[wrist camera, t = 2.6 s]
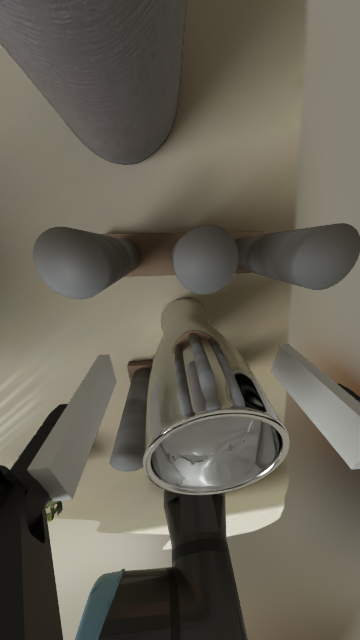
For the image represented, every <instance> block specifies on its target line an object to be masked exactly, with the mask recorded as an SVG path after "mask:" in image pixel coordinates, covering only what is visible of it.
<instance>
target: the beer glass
mask: <svg viewBox="0 0 360 640" xmlns="http://www.w3.org/2000/svg"><path fill="white" fill-rule="evenodd" d="M161 327H162V330H163V336H162V338H161V341H160V343H159V346H158V348H157V351H156V353H155V356H154V360H153V363H152V366H151V372H150V377H149V383H148V392H147V403H146V424H145V449H144V457H143V468H144V471H145V473H146V475H147V477H148V478H149V479H150V480H151V481H152V482H153V483H154V484H156V485H157V486H159V487H161V488H163V489H165V490H168V491H171V492H174V493H179V494H185V495H212V494H219V493H225V492H229V491H233V490H237V489H240V488H243V487H245V486H248V485H250V484H253V483H255V482H257V481H259V480H261V479H262V478H264V477H266V476H267V475H269V474H270V473H271V472H273V471H274V470H275V469H276V468H277V467H278V466H279V465H280V464H281V463H282V462H283V460H284V459H285V457H286V456H287V454H288V451H289V447H290V437H289V434H288V432H287V430H286V428H285V427H284V425H283V424H282V423H281V421H280V419H279V418H278V416H277V414H276V412H275V411H274V409H273V407H272V405H271V403H270V402H269V400H268V398H267V396H266V394H265V393H264V391H263V389H262V387H261V386H260V384H259V382H258V380H257V379H256V377H255V375H254V374H253V372H252V371H251V369H250V367H249V366H248V364H247V363H246V361H245V360H244V359H243V357H242V356H241V355H240V353H239V352H238V351H237V349H236V348H235V347H234V346H233V345H232V344H231V343H230V342H229V341H228V340H227V339H226V337H224V336H223V335H222V334H221V333H220V332H219V331H218V330H217V329H215V328H214V327H213V326H212V325H211V324H210V323H209V322H208V316H207V313H206V310H205V309H204V307H203V306H202V305H201V304H200V303H198V302H197V301H194V300H192V299H179V300H176V301H173V302H172V303H170V304H169V305H168V306H167V307H166V308H165V309H164V311H163V313H162V316H161Z"/></svg>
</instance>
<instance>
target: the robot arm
mask: <svg viewBox="0 0 360 640" xmlns="http://www.w3.org/2000/svg"><path fill="white" fill-rule="evenodd" d="M271 372H272V373H273V374H274V376H275V377H276V378H277V379H278V380H279V382H280V383H281V384H282V385H283V387H284V388H285V389H286V390H287V391H288V393H289V394H290V395H291V396H292V397H293V399H294V400H295V401H296V402H297V403H298V405H299V406H300V407H301V408H302V410H303V411H304V412H305V413H306V414H307V416H308V417H309V418H310V419H311V421H312V422H313V423H314V424H315V425H316V426H317V428H318V429H319V430H320V431H321V433H322V434H323V435H324V436H325V438H326V439H327V440H328V441H329V442H330V444H331V445H332V446H333V447H334V448H335V450H336V451H337V452H338V453H339V455H340V456H341V457H342V458H343V459H344V461H345V462H346V463H347V464H348V465H349V467H350V468H351V469H360V397H359V396H358V395H356V394H355V393H354V392H353V391H351V390H350V389H348V388H346V387H344V386H343V385H341V384H336V383H335V382H334V381H333V380H331V379H330V378H329V377H328V376H327V375H325V374H324V373H323V372H322V371H321V370H319V369H318V368H317V367H316V366H314V365H313V364H312V363H311V362H309V361H308V360H307V359H306V358H305V357H303V356H302V355H301V354H300V353H298V352H297V351H296V350H295V349H294V348H292V347H291V346H290V345H289V344H284V345H279V347H278V350H277V353H276V357H275V360H274V363H273V367H272V370H271ZM115 384H116V378H115V374H114V371H113V367H112V363H111V359H110V355H99V356H98V357H97V359H96V360H95V362H94V364H93V365H92V367H91V368H90V370H89V372H88V373H87V375H86V376H85V378H84V380H83V381H82V383H81V384H80V386H79V388H78V389H77V391H76V392H75V394H74V396H73V397H72V399H71V400H70V402H69V403H68V404H61V405H59V406H58V407H56V408H55V409H54V410H53V411H52V412H51V413H50V414H49V415H48V417H47V418H46V420H45V421H44V422H43V424H42V426H41V427H40V428H39V430H38V431H37V432H36V435H34V437H33V438H32V440H31V441H30V442H29V444H28V445H27V447H26V448H25V450H24V451H23V452H22V454H21V455H20V457H19V458H18V460H17V461H16V462H15V464H14V465H13V467H12V468H11V470H9V469H8V468H7V467H5V466H2V465H1V466H0V640H63V635H62V628H61V620H60V614H59V606H58V598H57V591H56V583H55V576H54V568H53V561H52V553H51V546H50V539H49V531H48V524H47V516H46V510H45V508H44V506H45V504H46V502H47V500H48V498H49V496H50V497H51V498H52V499H53V501H62V500H71V499H73V496H74V494H75V491H76V488H77V486H78V483H79V480H80V478H81V475H82V472H83V470H84V467H85V464H86V462H87V459H88V456H89V454H90V451H91V448H92V446H93V443H94V440H95V438H96V435H97V432H98V430H99V427H100V424H101V422H102V419H103V416H104V414H105V411H106V408H107V406H108V403H109V400H110V398H111V395H112V392H113V390H114V387H115ZM164 509H165V514H166V519H167V524H168V529H169V534H170V538H171V544H172V567H170V568H157V569H147V570H132V571H125V569H122V570H121V571H118V572H112V573H107V574H103V575H102V576H100V577H99V578H98V579H97V581H96V582H95V584H94V586H93V588H92V590H91V592H90V595H89V597H88V600H87V603H86V606H85V609H84V612H83V615H82V619H81V622H80V625H79V628H78V631H77V635H76V638H75V640H248V638H247V634H246V630H245V625H244V620H243V615H242V611H241V606H240V601H239V597H238V592H237V587H236V582H235V578H234V573H233V568H232V563H231V558H230V554H229V549H228V544H227V539H226V510H225V494H224V493H219V494H212V495H185V494H179V493H174V492H171V491H168V490H165V491H164Z"/></svg>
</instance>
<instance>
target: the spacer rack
mask: <svg viewBox="0 0 360 640" xmlns="http://www.w3.org/2000/svg"><path fill="white" fill-rule="evenodd" d="M262 234H263V232H227V231H226V230H224V229H222V228H220V227H218V226H214V225H203V226H199V227H197V228H194V229H193V230H191V231H190V232H188V233H140V234H96V233H91V232H87V231H82V230H77V229H72V228H67V227H54V228H50V229H48V230H46V231H45V232H43V233H42V234H41V235H40V236H39V237H38V239H37V240H36V242H35V245H34V250H33V258H34V263H35V266H36V269H37V271H38V273H39V275H40V276H41V278H42V279H43V281H44V282H45V283H46V284H47V285H48V286H49V287H50V288H52V289H53V290H54V291H56V292H57V293H59V294H61V295H63V296H66V297H68V298H72V299H87V298H90V297H93V296H95V295H96V294H98V293H99V292H101V291H102V290H104V289H106V288H107V287H109V286H110V285H112V284H113V283H115V282H116V281H118V280H119V279H121V278H122V277H125V276H157V275H177V277H178V279H179V281H180V282H181V284H182V285H183V286H184V287H185V288H186V289H188V290H189V291H191V292H193V293H197V294H211V293H214V292H217V291H219V290H221V289H222V288H224V287H225V286H226V285H227V284H228V283H229V282H230V281H231V279H232V278H233V276H234V274H235V273H256V274H259V275H263V276H266V277H270V278H273V279H277V280H280V281H284V282H287V283H291V284H294V285H298V286H302V287H305V288H309V289H313V290H322V289H326V288H329V287H331V286H333V285H335V284H337V283H338V282H340V281H341V280H342V279H343V278H344V277H345V276H346V275H347V274H348V273H349V272H350V271H351V269H352V268H353V266H354V265H355V263H356V261H357V259H358V256H359V252H360V236H359V233H358V232H357V230H356V229H355V228H354V227H352V226H351V225H348V224H341V223H340V224H333V225H325V226H318V227H312V228H305V229H298V230H291V231H284V232H277V233H270V234H263V235H262ZM152 363H153V360H147V361H131V362H129V363H128V366H127V367H128V372H129V377H130V382H131V385H130V388H129V392H128V396H127V400H126V403H125V407H124V411H123V415H122V418H121V422H120V426H119V429H118V433H117V437H116V441H115V444H114V448H113V452H112V456H111V459H110V465H111V466H112V467H113V468H114V469H117V470H119V471H135V470H138V469H140V468H142V467H143V457H144V449H145V424H146V403H147V392H148V383H149V377H150V372H151V366H152Z"/></svg>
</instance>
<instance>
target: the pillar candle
mask: <svg viewBox="0 0 360 640" xmlns="http://www.w3.org/2000/svg"><path fill="white" fill-rule="evenodd" d="M186 10H187V0H0V44H1V45H2V46H3V47H4V49H5V50H6V51H7V52H8V53H9V55H10V56H11V57H12V58H13V59H14V61H15V62H16V63H17V64H18V65H19V66H20V68H21V69H22V70H23V71H24V73H25V74H26V75H27V76H28V78H29V79H30V80H31V81H32V83H33V84H34V85H35V86H36V87H37V89H38V90H39V91H40V92H41V93H42V95H43V96H44V97H45V98H46V100H47V101H48V102H49V103H50V104H51V106H52V107H53V108H54V109H55V111H56V112H57V113H58V114H59V115H60V117H61V118H62V119H63V120H64V122H65V123H66V124H67V125H68V127H69V128H70V129H71V130H72V131H73V133H74V134H75V135H76V136H77V137H78V138H79V139H80V140H81V141H82V142H83V144H85V145H86V146H87V147H88V148H89V149H90V150H91V151H92V152H94V153H95V154H97V155H98V156H100V157H101V158H103V159H105V160H108V161H110V162H113V163H117V164H123V165H127V164H137V163H139V162H142V161H143V160H145V159H146V158H148V157H149V156H150V155H151V154H153V153H154V152H155V151H156V150H157V149H158V148H159V147H160V146H161V144H162V143H163V142H164V141H165V139H166V138H167V136H168V134H169V132H170V130H171V127H172V125H173V122H174V119H175V116H176V112H177V105H178V98H179V91H180V83H181V66H182V57H183V44H184V30H185V18H186Z"/></svg>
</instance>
